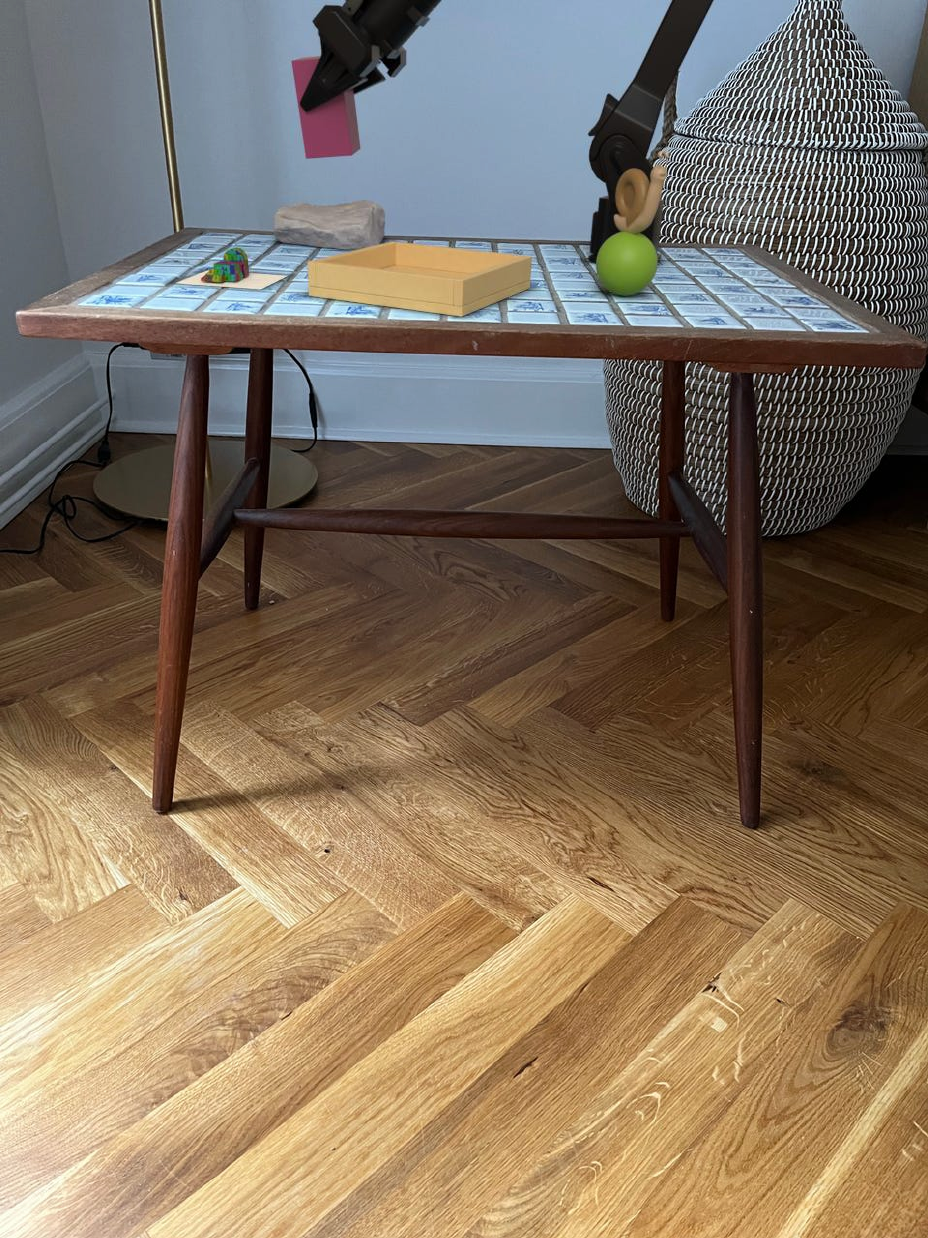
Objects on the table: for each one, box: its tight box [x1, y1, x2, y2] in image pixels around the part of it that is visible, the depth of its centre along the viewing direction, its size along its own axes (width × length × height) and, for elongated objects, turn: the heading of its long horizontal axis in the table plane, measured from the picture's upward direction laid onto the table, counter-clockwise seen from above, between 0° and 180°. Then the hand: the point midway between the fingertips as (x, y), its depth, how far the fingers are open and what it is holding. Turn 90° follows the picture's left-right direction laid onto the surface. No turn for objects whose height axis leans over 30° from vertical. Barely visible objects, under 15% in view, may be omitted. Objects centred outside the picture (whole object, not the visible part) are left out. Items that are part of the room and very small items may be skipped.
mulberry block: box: [291, 55, 361, 160], centre depth 100 cm, size 5×5×9 cm
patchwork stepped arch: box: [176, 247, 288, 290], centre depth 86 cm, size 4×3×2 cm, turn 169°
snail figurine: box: [595, 150, 672, 297], centre depth 83 cm, size 5×6×12 cm
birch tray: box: [307, 240, 533, 318], centre depth 84 cm, size 15×15×3 cm
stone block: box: [273, 200, 386, 251], centre depth 107 cm, size 12×5×10 cm
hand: (310, 107), depth 100 cm, fingers closed on mulberry block, 5 cm apart
